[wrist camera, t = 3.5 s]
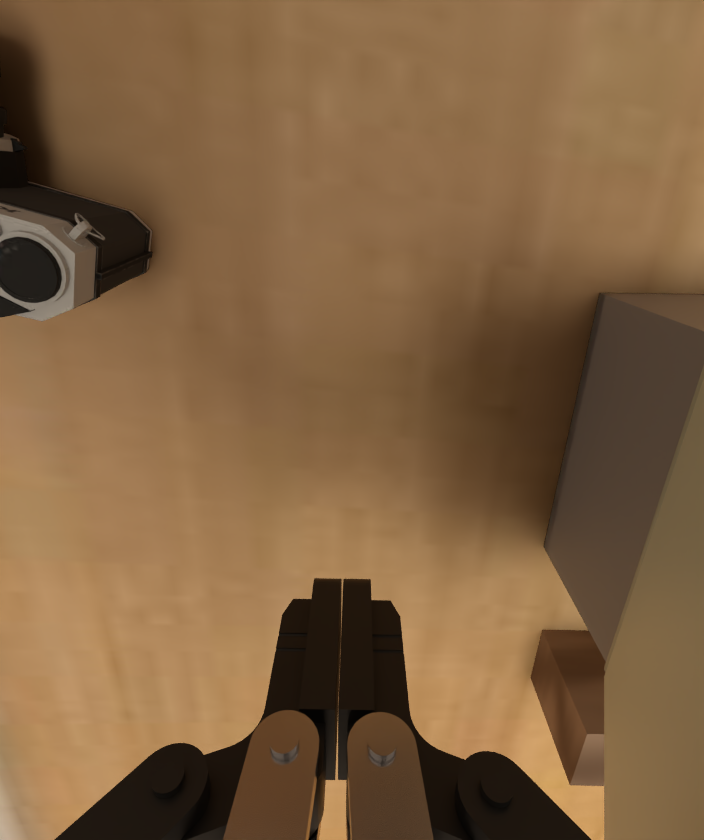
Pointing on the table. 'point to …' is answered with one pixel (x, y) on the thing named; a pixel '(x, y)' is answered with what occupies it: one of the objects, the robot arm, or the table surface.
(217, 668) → the table surface
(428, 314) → the table surface
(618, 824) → the lid
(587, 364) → the box
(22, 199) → the camera
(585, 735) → the brown rectangular block
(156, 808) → the robot arm
